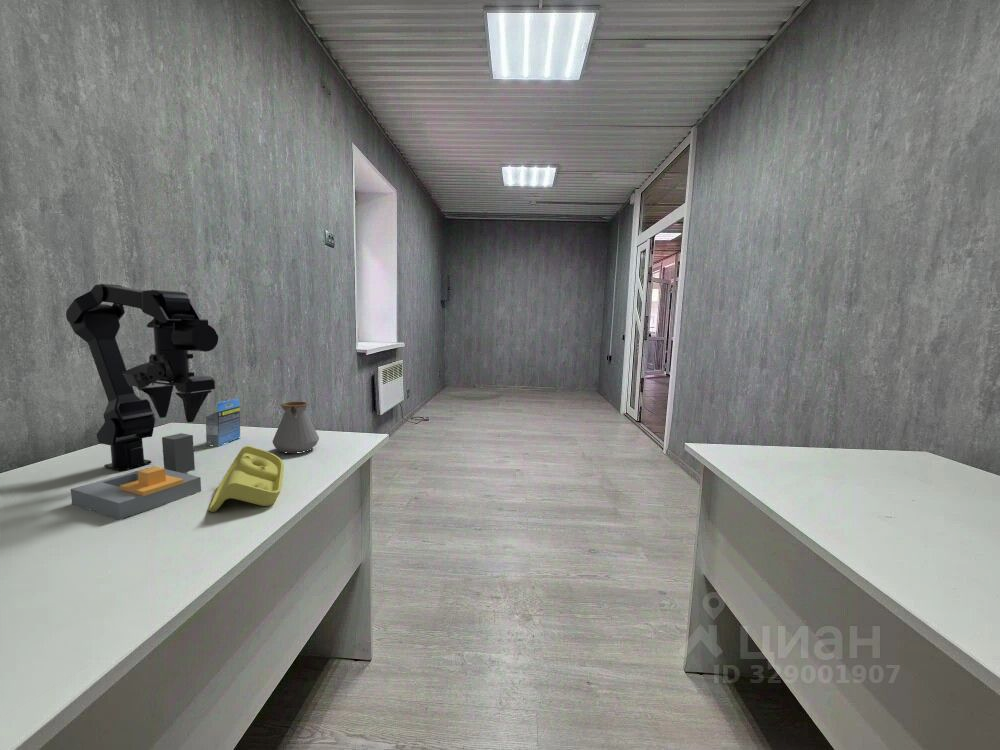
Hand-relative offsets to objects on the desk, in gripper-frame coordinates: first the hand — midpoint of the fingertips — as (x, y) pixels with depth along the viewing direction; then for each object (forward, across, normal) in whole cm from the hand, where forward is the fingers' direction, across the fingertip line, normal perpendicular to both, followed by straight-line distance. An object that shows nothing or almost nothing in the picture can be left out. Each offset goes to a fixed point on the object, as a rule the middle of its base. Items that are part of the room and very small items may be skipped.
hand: (176, 419), depth 95 cm
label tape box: (+13, -16, +22) cm, 30 cm away
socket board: (+13, +6, -11) cm, 18 cm away
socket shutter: (+10, +10, -11) cm, 18 cm away
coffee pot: (+13, +11, +22) cm, 28 cm away
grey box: (+13, 0, 0) cm, 13 cm away
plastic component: (+13, +23, 0) cm, 26 cm away
